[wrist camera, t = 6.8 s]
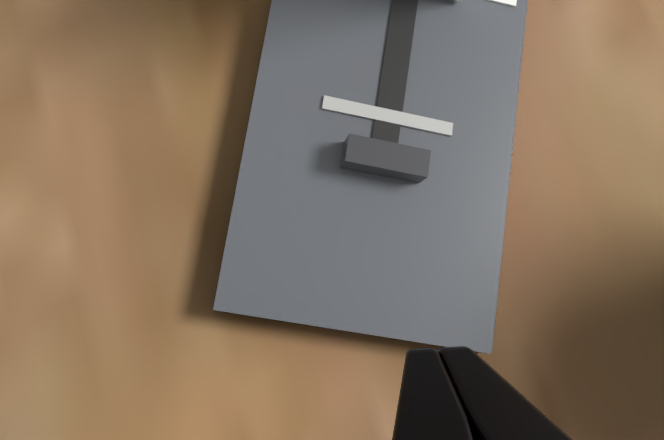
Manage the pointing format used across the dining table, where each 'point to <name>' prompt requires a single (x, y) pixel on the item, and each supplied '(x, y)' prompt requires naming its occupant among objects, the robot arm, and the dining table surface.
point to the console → (378, 169)
